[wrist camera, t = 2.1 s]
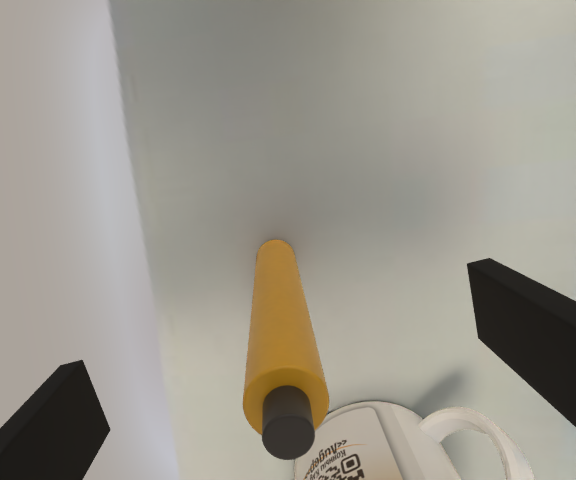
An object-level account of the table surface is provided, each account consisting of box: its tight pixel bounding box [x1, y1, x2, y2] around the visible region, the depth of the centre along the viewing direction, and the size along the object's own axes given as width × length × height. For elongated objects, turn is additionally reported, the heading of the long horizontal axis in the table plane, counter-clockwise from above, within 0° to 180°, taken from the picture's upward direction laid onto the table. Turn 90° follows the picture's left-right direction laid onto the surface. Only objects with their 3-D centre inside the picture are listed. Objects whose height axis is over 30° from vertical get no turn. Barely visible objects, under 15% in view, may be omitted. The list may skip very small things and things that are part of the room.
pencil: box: [243, 240, 329, 460], centre depth 17 cm, size 2×2×15 cm
